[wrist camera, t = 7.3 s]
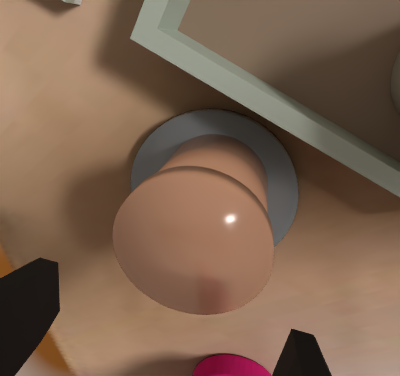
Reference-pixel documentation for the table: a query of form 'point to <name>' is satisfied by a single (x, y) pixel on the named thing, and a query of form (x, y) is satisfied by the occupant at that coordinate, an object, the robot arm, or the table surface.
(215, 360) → the pepper mill
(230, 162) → the tan jar
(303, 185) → the table surface
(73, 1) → the glass lid
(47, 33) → the table surface
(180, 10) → the green square tray
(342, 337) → the table surface
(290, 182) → the slate saucer
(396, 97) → the cream pot
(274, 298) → the table surface
